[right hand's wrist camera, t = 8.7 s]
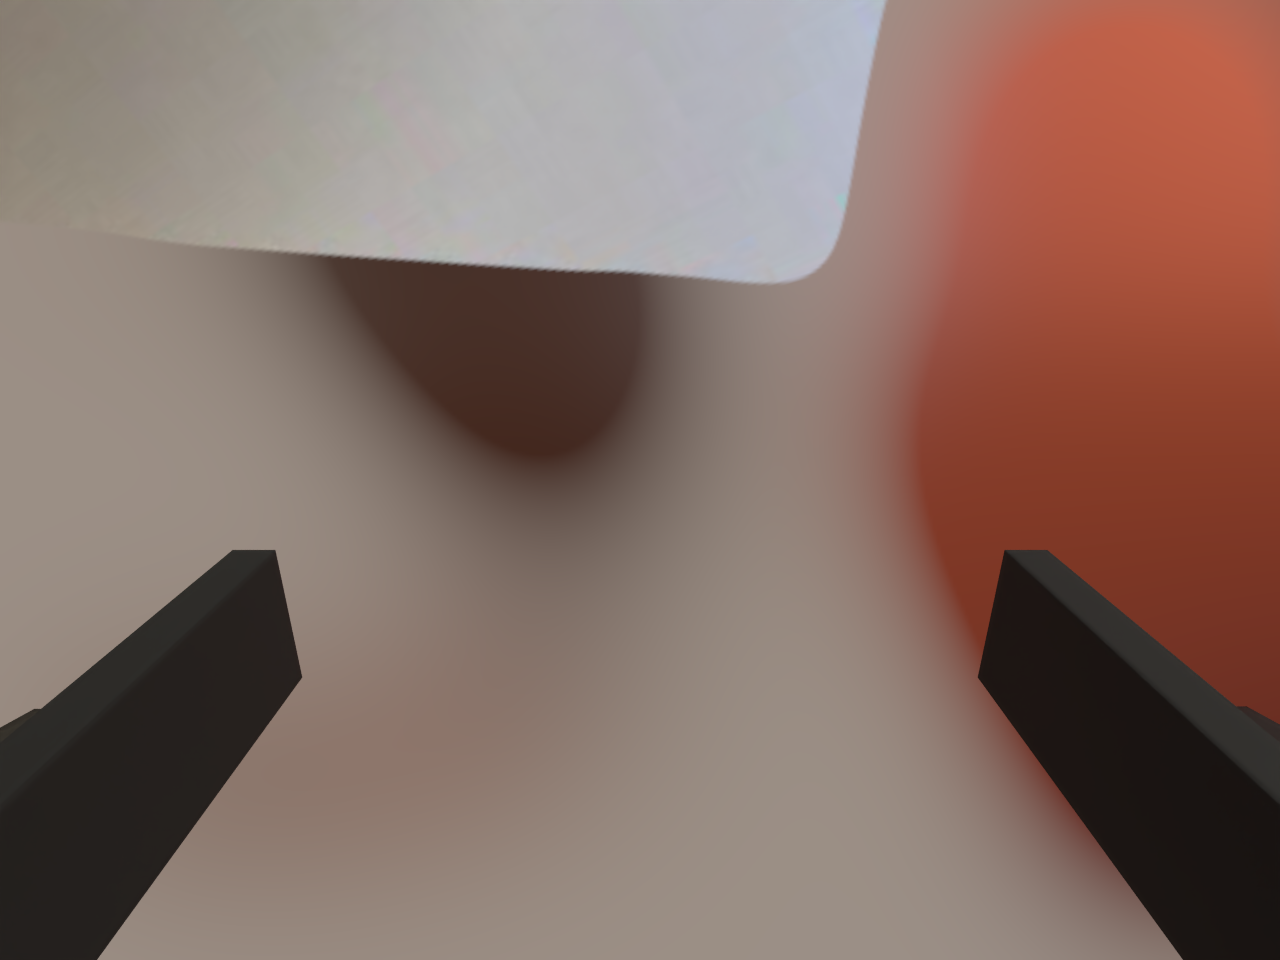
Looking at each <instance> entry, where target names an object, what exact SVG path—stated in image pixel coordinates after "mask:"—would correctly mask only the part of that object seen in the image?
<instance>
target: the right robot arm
mask: <svg viewBox="0 0 1280 960" xmlns="http://www.w3.org/2000/svg"><path fill="white" fill-rule="evenodd" d="M301 678H302V674H301V670H300V665H299V660H298V655H297V651H296V646H295V641H294V636H293V632H292V627H291V622H290V617H289V613H288V608H287V603H286V598H285V594H284V589H283V584H282V580H281V575H280V570H279V565H278V561H277V556H276V551H275V550H232V551H231V552H230V553H229V554H227V555H226V556H225V557H224V558H223V559H221V560H220V561H219V562H218V563H217V564H215V565H214V566H213V567H212V568H211V569H209V570H208V571H207V572H206V573H205V574H203V575H202V576H201V577H200V578H198V579H197V580H196V581H195V582H194V583H192V584H191V585H190V586H189V587H188V588H186V589H185V590H184V591H183V592H182V593H180V594H179V595H178V596H177V597H176V598H174V599H173V600H172V601H171V602H170V603H168V604H167V605H166V606H165V607H164V608H162V609H161V610H160V611H159V612H157V613H156V614H155V615H154V616H153V617H151V618H150V619H149V620H148V621H147V622H145V623H144V624H143V625H142V626H141V627H139V628H138V629H137V630H136V631H135V632H133V633H132V634H131V635H130V636H129V637H127V638H126V639H125V640H124V641H122V642H121V643H120V644H119V645H118V646H116V647H115V648H114V649H113V650H112V651H110V652H109V653H108V654H107V655H106V656H104V657H103V658H102V659H101V660H100V661H98V662H97V663H96V664H95V665H94V666H92V667H91V668H90V669H89V670H87V671H86V672H85V673H84V674H83V675H81V676H80V677H79V678H78V679H77V680H75V681H74V682H73V683H72V684H71V685H69V686H68V687H67V688H66V689H65V690H63V691H62V692H61V693H60V694H59V695H57V696H56V697H55V698H54V699H53V700H51V701H50V702H49V703H48V704H46V705H45V706H44V707H43V708H42V709H33V710H32V711H30V712H28V713H26V714H24V715H23V716H21V717H19V718H17V719H15V720H13V721H12V722H10V723H8V724H6V725H4V726H3V727H1V728H0V960H97V959H98V958H99V956H100V955H101V953H102V952H103V951H104V949H105V948H106V947H107V945H108V944H109V942H110V941H111V940H112V938H113V937H114V935H115V934H116V933H117V931H118V930H119V929H120V927H121V926H122V925H123V923H124V922H125V920H126V919H127V918H128V916H129V915H130V914H131V912H132V911H133V909H134V908H135V907H136V905H137V904H138V902H139V901H140V900H141V898H142V897H143V896H144V894H145V893H146V892H147V890H148V889H149V887H150V886H151V885H152V883H153V882H154V881H155V879H156V878H157V876H158V875H159V874H160V872H161V871H162V870H163V868H164V867H165V865H166V864H167V863H168V861H169V860H170V859H171V857H172V856H173V854H174V853H175V852H176V850H177V849H178V848H179V846H180V845H181V843H182V842H183V841H184V839H185V838H186V837H187V835H188V834H189V832H190V831H191V830H192V828H193V827H194V825H195V824H196V823H197V821H198V820H199V818H200V817H201V816H202V814H203V813H204V812H205V810H206V809H207V808H208V806H209V805H210V803H211V802H212V801H213V799H214V798H215V797H216V795H217V794H218V792H219V791H220V790H221V788H222V787H223V785H224V784H225V783H226V781H227V780H228V779H229V777H230V776H231V774H232V773H233V772H234V770H235V769H236V768H237V766H238V765H239V764H240V762H241V761H242V759H243V758H244V757H245V755H246V754H247V752H248V751H249V750H250V748H251V747H252V746H253V744H254V743H255V742H256V740H257V739H258V737H259V736H260V735H261V733H262V732H263V731H264V729H265V728H266V726H267V725H268V724H269V722H270V721H271V720H272V718H273V717H274V715H275V714H276V713H277V711H278V710H279V709H280V707H281V706H282V704H283V703H284V702H285V700H286V699H287V697H288V696H289V695H290V693H291V692H292V691H293V689H294V688H295V686H296V685H297V684H298V682H299V681H300V680H301ZM978 678H979V680H980V681H981V682H982V684H983V685H984V687H985V688H986V689H987V691H988V692H989V693H990V695H991V696H992V697H993V699H994V700H995V702H996V703H997V704H998V706H999V707H1000V709H1001V710H1002V711H1003V713H1004V714H1005V715H1006V717H1007V718H1008V720H1009V721H1010V722H1011V724H1012V725H1013V726H1014V728H1015V729H1016V731H1017V732H1018V733H1019V735H1020V736H1021V737H1022V739H1023V740H1024V742H1025V743H1026V744H1027V746H1028V747H1029V748H1030V750H1031V751H1032V753H1033V754H1034V755H1035V757H1036V758H1037V759H1038V761H1039V762H1040V764H1041V765H1042V766H1043V768H1044V769H1045V770H1046V772H1047V773H1048V775H1049V776H1050V777H1051V779H1052V780H1053V781H1054V783H1055V784H1056V786H1057V787H1058V788H1059V790H1060V791H1061V792H1062V794H1063V795H1064V797H1065V798H1066V799H1067V801H1068V802H1069V803H1070V805H1071V806H1072V808H1073V809H1074V810H1075V812H1076V813H1077V814H1078V816H1079V817H1080V819H1081V820H1082V821H1083V823H1084V824H1085V825H1086V827H1087V828H1088V830H1089V831H1090V832H1091V834H1092V835H1093V837H1094V838H1095V839H1096V841H1097V842H1098V843H1099V845H1100V846H1101V847H1102V849H1103V850H1104V852H1105V853H1106V854H1107V856H1108V857H1109V859H1110V860H1111V861H1112V863H1113V864H1114V865H1115V867H1116V868H1117V869H1118V871H1119V872H1120V874H1121V875H1122V876H1123V878H1124V879H1125V881H1126V882H1127V883H1128V885H1129V886H1130V887H1131V889H1132V890H1133V892H1134V893H1135V894H1136V896H1137V897H1138V898H1139V900H1140V901H1141V903H1142V904H1143V905H1144V907H1145V908H1146V909H1147V911H1148V912H1149V914H1150V915H1151V916H1152V918H1153V919H1154V920H1155V922H1156V923H1157V925H1158V926H1159V927H1160V929H1161V930H1162V931H1163V933H1164V934H1165V936H1166V937H1167V938H1168V940H1169V941H1170V942H1171V944H1172V945H1173V946H1174V948H1175V949H1176V951H1177V952H1178V953H1179V955H1180V956H1181V958H1182V959H1183V960H1280V725H1279V724H1278V723H1276V722H1274V721H1272V720H1270V719H1268V718H1267V717H1265V716H1263V715H1261V714H1259V713H1258V712H1256V711H1254V710H1252V709H1250V708H1248V707H1236V706H1235V705H1234V704H1232V703H1231V702H1230V701H1229V700H1227V699H1226V698H1225V697H1224V696H1223V695H1221V694H1220V693H1219V692H1218V691H1217V690H1215V689H1214V688H1213V687H1212V686H1211V685H1209V684H1208V683H1207V682H1206V681H1205V680H1203V679H1202V678H1201V677H1200V676H1199V675H1197V674H1196V673H1195V672H1194V671H1193V670H1191V669H1190V668H1189V667H1188V666H1186V665H1185V664H1184V663H1183V662H1182V661H1180V660H1179V659H1178V658H1177V657H1176V656H1174V655H1173V654H1172V653H1171V652H1170V651H1168V650H1167V649H1166V648H1165V647H1164V646H1162V645H1161V644H1160V643H1159V642H1158V641H1156V640H1155V639H1154V638H1153V637H1151V636H1150V635H1149V634H1148V633H1147V632H1145V631H1144V630H1143V629H1142V628H1141V627H1139V626H1138V625H1137V624H1136V623H1135V622H1133V621H1132V620H1131V619H1130V618H1129V617H1127V616H1126V615H1125V614H1124V613H1123V612H1121V611H1120V610H1119V609H1118V608H1117V607H1115V606H1114V605H1113V604H1112V603H1110V602H1109V601H1108V600H1107V599H1106V598H1104V597H1103V596H1102V595H1101V594H1100V593H1098V592H1097V591H1096V590H1095V589H1094V588H1092V587H1091V586H1090V585H1089V584H1088V583H1086V582H1085V581H1084V580H1083V579H1082V578H1080V577H1079V576H1078V575H1077V574H1075V573H1074V572H1073V571H1072V570H1071V569H1069V568H1068V567H1067V566H1066V565H1065V564H1063V563H1062V562H1061V561H1060V560H1059V559H1057V558H1056V557H1055V556H1054V555H1053V554H1051V553H1050V552H1049V551H1048V550H1005V551H1004V556H1003V561H1002V565H1001V570H1000V575H999V580H998V584H997V589H996V594H995V599H994V603H993V608H992V613H991V618H990V622H989V627H988V632H987V636H986V641H985V646H984V651H983V655H982V660H981V665H980V670H979V674H978Z"/></svg>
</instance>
